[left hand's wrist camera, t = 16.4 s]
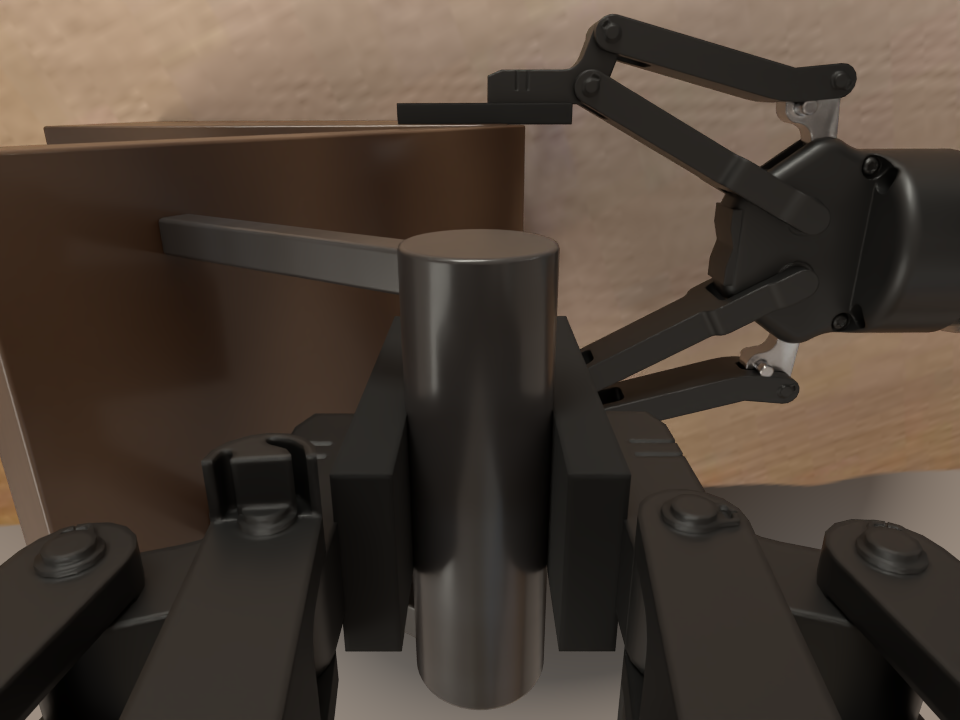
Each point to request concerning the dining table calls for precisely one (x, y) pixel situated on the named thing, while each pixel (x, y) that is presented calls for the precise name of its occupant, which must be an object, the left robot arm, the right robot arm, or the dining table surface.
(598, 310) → the dining table surface
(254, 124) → the chest
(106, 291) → the lid
